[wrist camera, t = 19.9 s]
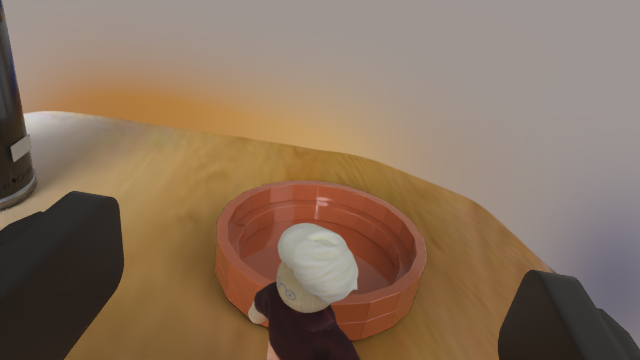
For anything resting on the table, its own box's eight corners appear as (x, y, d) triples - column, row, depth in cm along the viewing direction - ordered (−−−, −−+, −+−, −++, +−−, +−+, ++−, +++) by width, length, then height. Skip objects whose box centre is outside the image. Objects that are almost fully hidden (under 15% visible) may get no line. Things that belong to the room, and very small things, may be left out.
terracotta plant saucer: (183, 321, 28) (182, 278, 27) (245, 201, 42) (247, 168, 40) (426, 364, 28) (440, 324, 26) (407, 229, 41) (416, 197, 40)
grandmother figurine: (204, 419, 23) (209, 209, 17) (256, 371, 26) (275, 179, 20) (326, 529, 19) (384, 310, 13) (369, 459, 22) (433, 255, 16)
